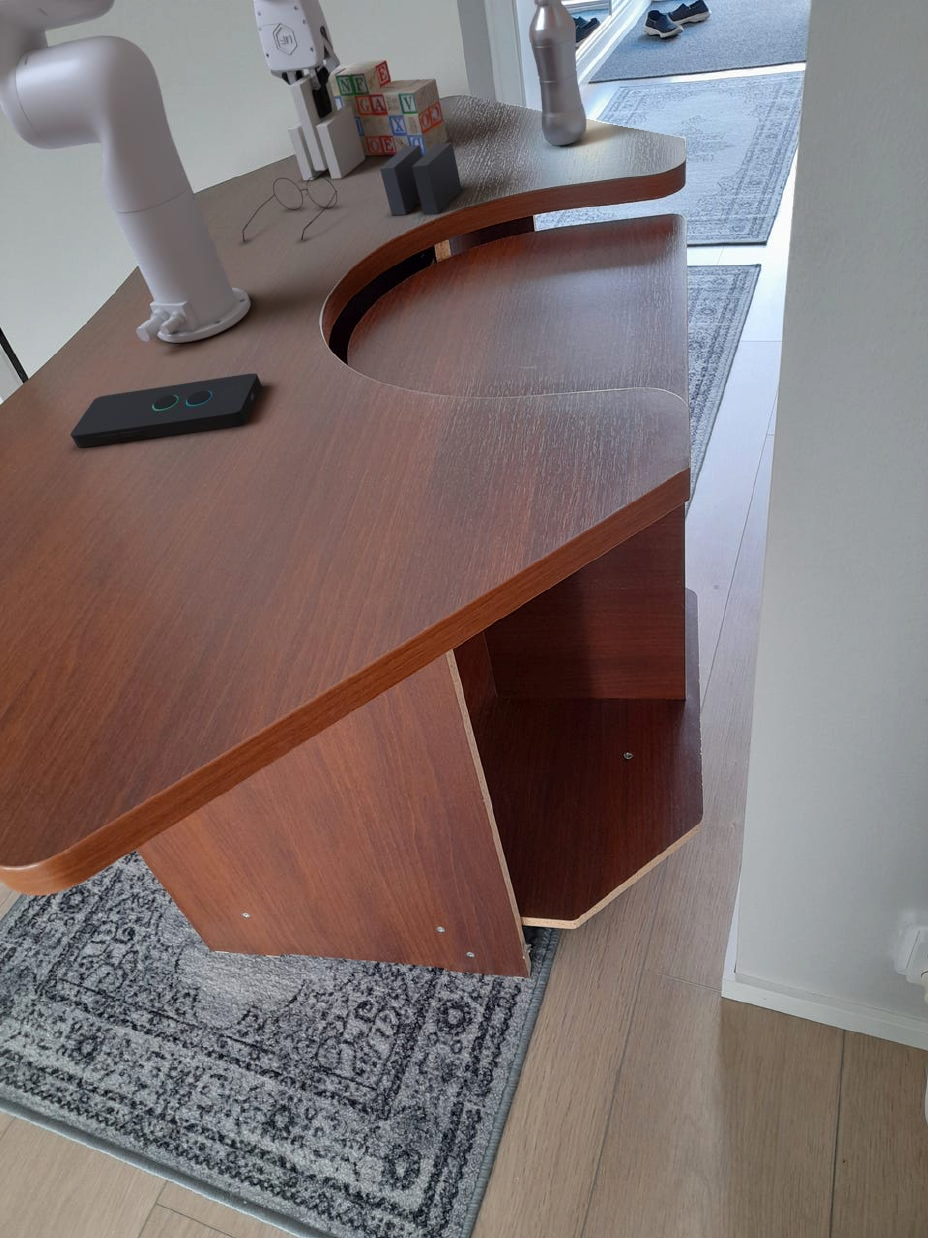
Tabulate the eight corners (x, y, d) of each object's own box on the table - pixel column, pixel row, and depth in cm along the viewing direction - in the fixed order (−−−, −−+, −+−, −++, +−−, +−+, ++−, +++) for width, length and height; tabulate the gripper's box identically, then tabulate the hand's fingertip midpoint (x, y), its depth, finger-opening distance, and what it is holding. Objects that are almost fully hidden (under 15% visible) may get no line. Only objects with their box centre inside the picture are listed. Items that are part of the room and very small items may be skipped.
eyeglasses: (307, 240, 128) (295, 204, 125) (238, 242, 133) (225, 208, 130) (345, 207, 135) (335, 172, 131) (278, 210, 140) (267, 176, 137)
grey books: (438, 213, 125) (427, 164, 121) (391, 215, 128) (379, 167, 124) (461, 189, 130) (452, 141, 125) (416, 191, 133) (405, 145, 129)
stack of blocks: (449, 141, 147) (431, 55, 138) (427, 156, 144) (407, 70, 135) (352, 140, 158) (330, 62, 150) (329, 155, 155) (306, 75, 146)
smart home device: (238, 411, 93) (67, 436, 97) (244, 425, 94) (75, 449, 98) (258, 370, 99) (95, 395, 103) (263, 383, 100) (102, 408, 104)
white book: (325, 170, 145) (299, 84, 136) (315, 170, 146) (289, 85, 137) (349, 150, 150) (326, 66, 141) (339, 151, 151) (315, 68, 142)
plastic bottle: (576, 150, 131) (557, -11, 118) (536, 150, 135) (513, -6, 121) (596, 133, 135) (580, -26, 121) (556, 134, 138) (537, -20, 125)
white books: (342, 178, 145) (326, 124, 139) (303, 180, 148) (287, 128, 142) (365, 158, 149) (351, 106, 144) (327, 161, 153) (312, 110, 147)
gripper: (221, -8, 132) (266, 127, 144) (310, -23, 125) (349, 120, 137) (250, -22, 136) (291, 110, 149) (337, -38, 129) (372, 102, 142)
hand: (318, 114), depth 143 cm, fingers closed on white book, 2 cm apart
